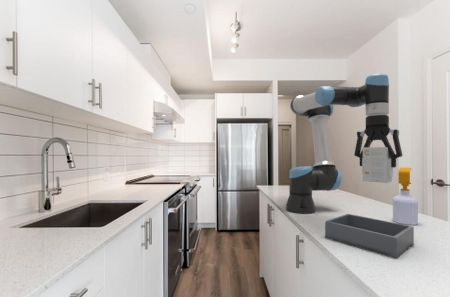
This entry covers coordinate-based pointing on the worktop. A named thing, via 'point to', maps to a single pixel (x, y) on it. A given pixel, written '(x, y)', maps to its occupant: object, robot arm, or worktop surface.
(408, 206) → the soap bottle
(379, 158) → the small box
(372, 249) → the charcoal bin
